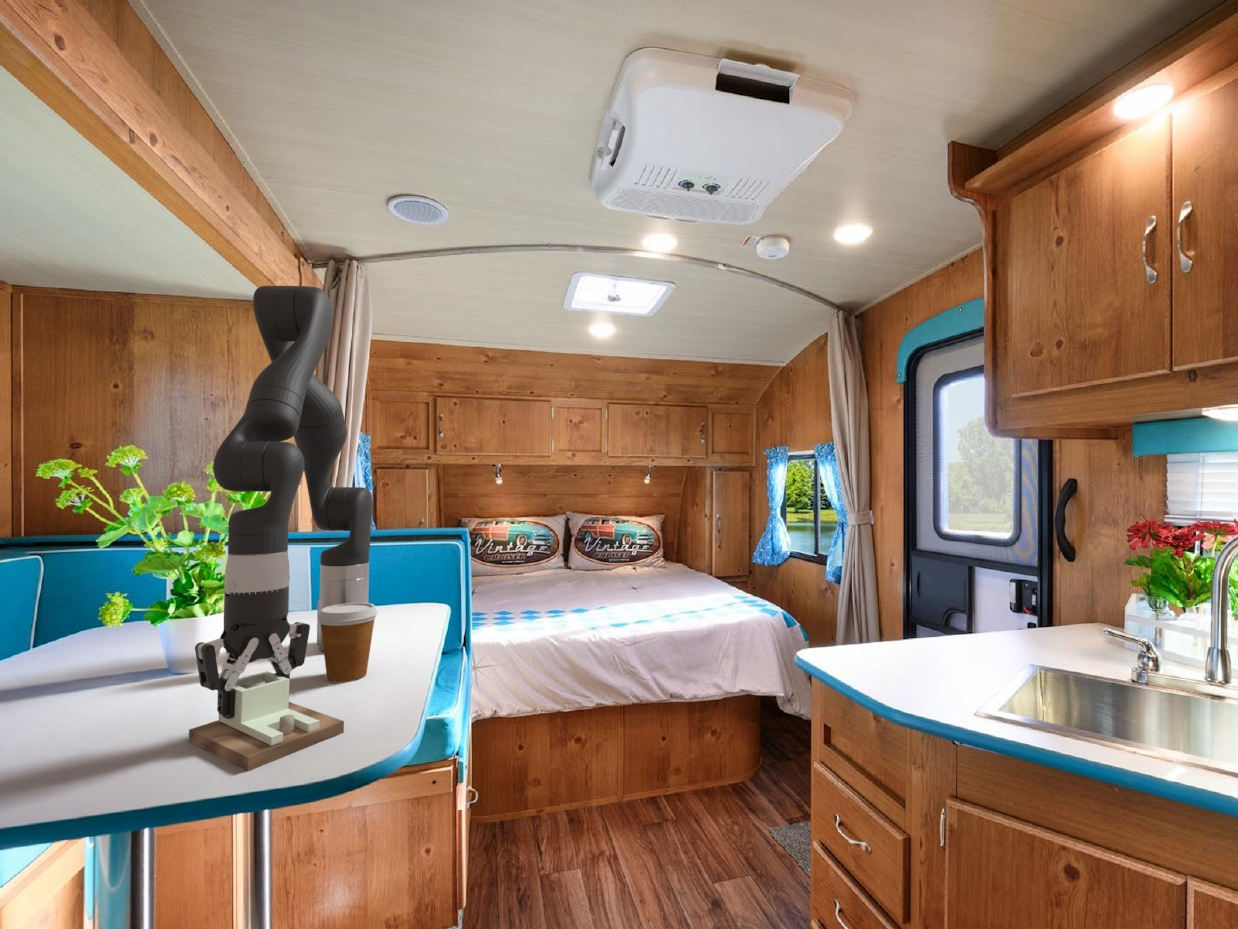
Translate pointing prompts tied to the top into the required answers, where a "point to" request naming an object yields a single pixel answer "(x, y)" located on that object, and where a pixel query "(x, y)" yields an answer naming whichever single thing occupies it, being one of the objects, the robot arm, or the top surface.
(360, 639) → the disposable coffee cup
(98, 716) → the top surface
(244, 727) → the hollow square block
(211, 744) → the post base
